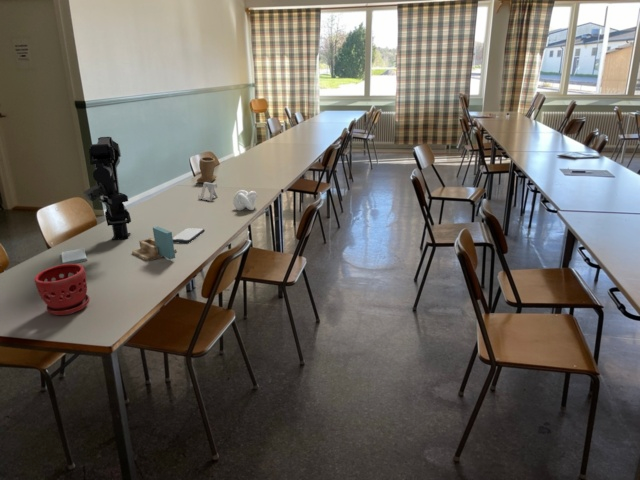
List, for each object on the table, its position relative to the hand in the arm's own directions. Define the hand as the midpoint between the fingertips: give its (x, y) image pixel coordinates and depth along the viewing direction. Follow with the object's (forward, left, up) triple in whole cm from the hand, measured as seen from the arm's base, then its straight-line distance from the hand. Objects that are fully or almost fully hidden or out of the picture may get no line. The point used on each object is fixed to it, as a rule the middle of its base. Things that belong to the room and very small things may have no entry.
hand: (113, 217), depth 187 cm
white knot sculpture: (-42, +51, -13) cm, 68 cm away
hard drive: (+6, -15, -14) cm, 21 cm away
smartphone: (-8, +26, -14) cm, 30 cm away
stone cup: (-111, +29, -13) cm, 116 cm away
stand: (+8, +15, -13) cm, 21 cm away
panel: (+15, +20, -12) cm, 28 cm away
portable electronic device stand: (-68, +32, -13) cm, 76 cm away
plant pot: (+50, -4, -13) cm, 52 cm away
